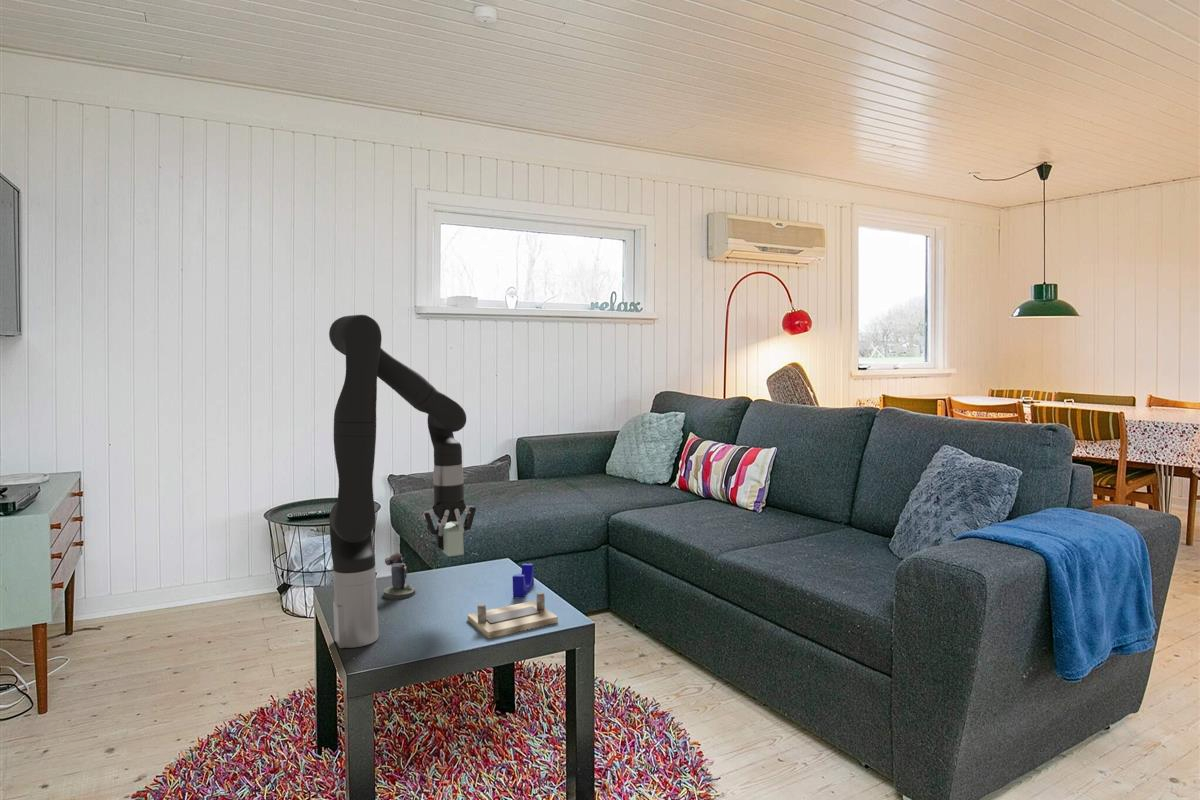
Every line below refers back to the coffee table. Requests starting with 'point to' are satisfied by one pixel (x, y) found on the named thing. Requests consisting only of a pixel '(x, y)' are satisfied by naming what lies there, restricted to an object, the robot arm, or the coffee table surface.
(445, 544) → the door block
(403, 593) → the figurine
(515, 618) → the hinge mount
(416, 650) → the coffee table surface
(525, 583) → the blue piece
